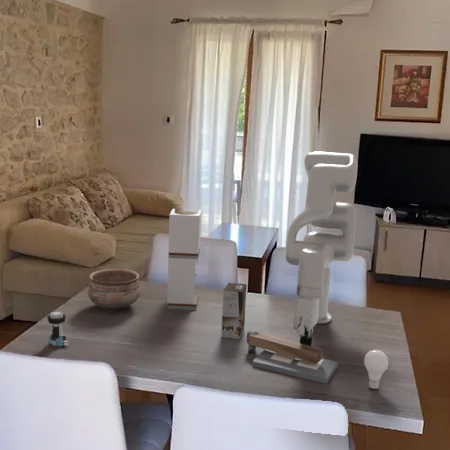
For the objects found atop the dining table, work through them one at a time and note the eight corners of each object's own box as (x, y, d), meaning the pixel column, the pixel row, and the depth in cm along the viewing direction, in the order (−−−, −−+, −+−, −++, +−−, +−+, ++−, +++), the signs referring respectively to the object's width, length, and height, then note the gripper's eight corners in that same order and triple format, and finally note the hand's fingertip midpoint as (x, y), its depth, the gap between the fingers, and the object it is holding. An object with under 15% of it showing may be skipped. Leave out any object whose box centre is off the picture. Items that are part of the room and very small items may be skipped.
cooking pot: (110, 293, 223) (110, 263, 221) (153, 301, 217) (154, 270, 214) (71, 314, 201) (71, 280, 198) (118, 323, 194) (118, 289, 191)
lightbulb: (358, 382, 159) (361, 345, 157) (380, 382, 160) (384, 345, 158) (365, 394, 153) (369, 355, 151) (388, 394, 154) (393, 355, 151)
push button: (73, 343, 177) (72, 312, 175) (63, 350, 172) (62, 318, 170) (54, 339, 179) (54, 309, 177) (44, 346, 174) (43, 315, 172)
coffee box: (240, 339, 185) (242, 292, 182) (220, 337, 186) (222, 289, 183) (244, 329, 194) (247, 283, 191) (226, 327, 195) (228, 281, 192)
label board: (267, 350, 178) (267, 345, 177) (337, 367, 169) (338, 361, 168) (252, 365, 167) (252, 359, 167) (326, 383, 158) (326, 377, 158)
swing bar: (250, 338, 179) (251, 329, 178) (321, 359, 166) (322, 349, 166) (244, 342, 175) (244, 333, 175) (316, 364, 163) (317, 354, 162)
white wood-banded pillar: (196, 309, 210) (199, 215, 203) (167, 308, 210) (169, 214, 203) (198, 299, 221) (201, 210, 214) (170, 298, 222) (172, 208, 214)
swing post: (249, 349, 178) (250, 341, 178) (256, 350, 177) (257, 342, 177) (246, 352, 176) (247, 343, 176) (254, 353, 175) (254, 345, 175)
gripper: (305, 281, 175) (300, 337, 179) (289, 295, 162) (284, 355, 166) (329, 285, 172) (324, 342, 176) (314, 300, 159) (310, 361, 163)
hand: (305, 349), depth 171 cm, fingers closed
